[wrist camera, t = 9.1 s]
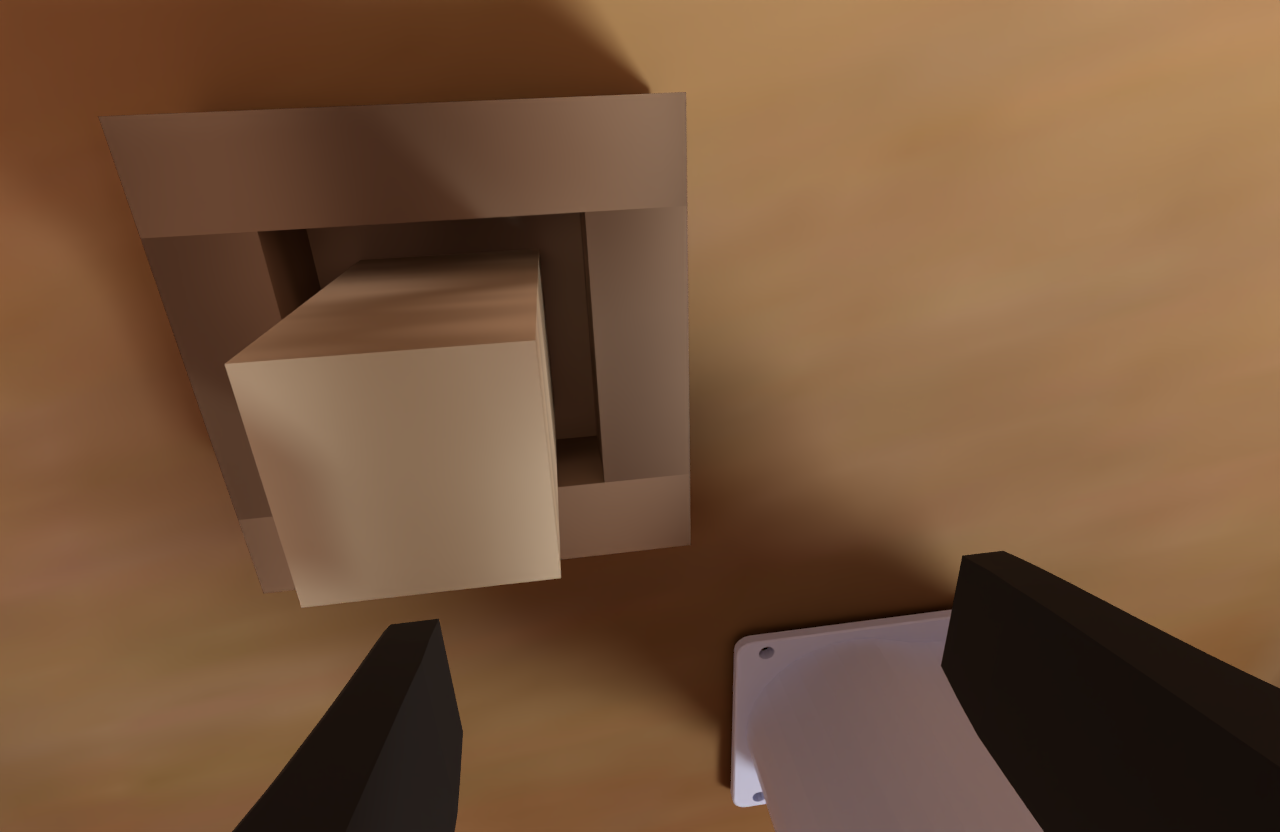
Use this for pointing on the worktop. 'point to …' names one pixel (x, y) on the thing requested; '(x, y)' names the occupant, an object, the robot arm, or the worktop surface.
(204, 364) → the walnut holder
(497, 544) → the birch post
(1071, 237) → the worktop surface
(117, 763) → the worktop surface
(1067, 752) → the robot arm
